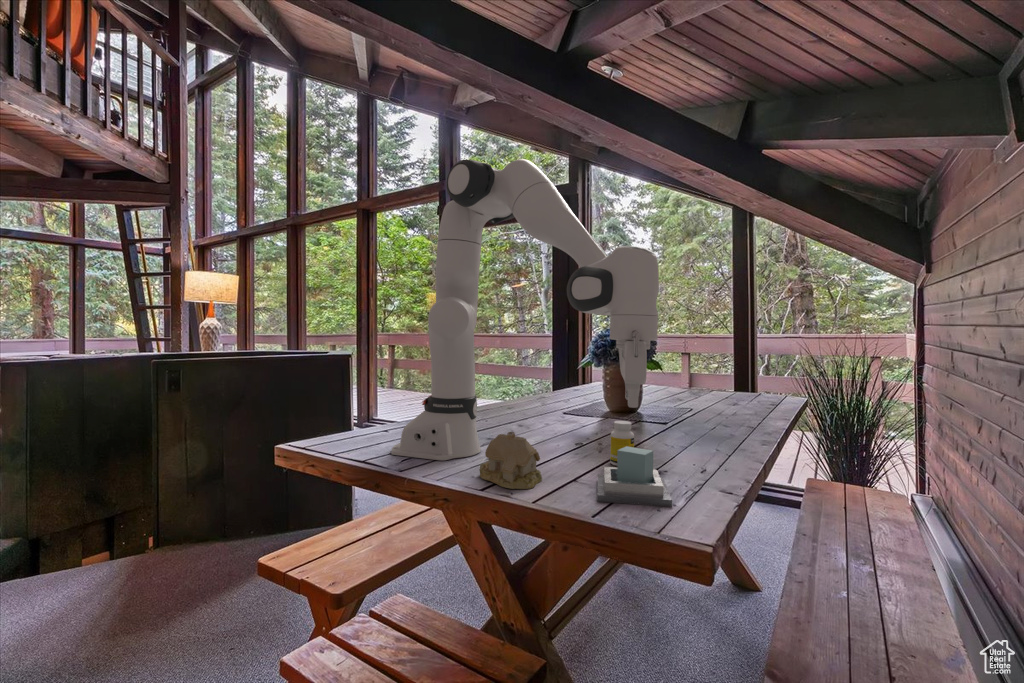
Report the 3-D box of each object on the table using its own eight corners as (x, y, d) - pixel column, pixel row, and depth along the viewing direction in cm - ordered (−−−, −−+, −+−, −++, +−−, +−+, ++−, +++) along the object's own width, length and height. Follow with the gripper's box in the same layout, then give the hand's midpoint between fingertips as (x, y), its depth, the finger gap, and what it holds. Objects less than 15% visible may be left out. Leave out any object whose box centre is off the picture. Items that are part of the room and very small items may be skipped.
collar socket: (597, 501, 88) (597, 484, 88) (597, 479, 100) (597, 464, 100) (671, 506, 85) (672, 488, 85) (662, 483, 98) (662, 468, 98)
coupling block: (644, 492, 89) (645, 454, 89) (617, 486, 93) (617, 450, 92) (652, 487, 92) (653, 450, 92) (625, 481, 96) (626, 446, 96)
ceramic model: (552, 479, 101) (553, 432, 101) (522, 494, 92) (523, 441, 92) (499, 467, 109) (499, 424, 109) (466, 480, 100) (467, 432, 100)
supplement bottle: (634, 467, 109) (635, 425, 109) (610, 466, 111) (610, 423, 110) (633, 461, 115) (633, 420, 115) (610, 460, 116) (610, 419, 116)
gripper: (656, 331, 81) (654, 413, 82) (645, 331, 101) (644, 397, 102) (618, 330, 82) (615, 411, 83) (615, 330, 103) (613, 395, 103)
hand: (631, 403), depth 92 cm, fingers open, 8 cm apart
